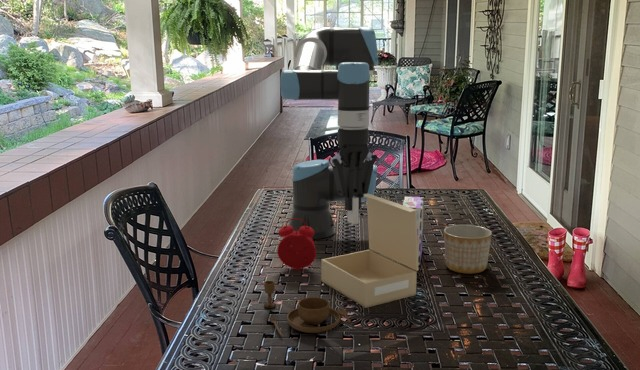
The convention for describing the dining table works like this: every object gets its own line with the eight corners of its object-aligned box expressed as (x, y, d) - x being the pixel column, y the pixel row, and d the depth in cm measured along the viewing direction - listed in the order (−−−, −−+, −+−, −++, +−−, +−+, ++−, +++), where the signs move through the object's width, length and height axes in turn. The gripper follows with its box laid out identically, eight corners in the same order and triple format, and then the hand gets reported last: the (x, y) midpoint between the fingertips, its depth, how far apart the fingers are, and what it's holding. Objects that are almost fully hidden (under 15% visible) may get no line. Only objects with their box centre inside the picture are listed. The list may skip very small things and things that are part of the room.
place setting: (281, 340, 135) (280, 314, 133) (260, 304, 153) (259, 281, 152) (359, 329, 140) (359, 304, 139) (329, 295, 159) (329, 272, 157)
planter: (438, 272, 172) (440, 235, 170) (446, 258, 184) (447, 222, 181) (487, 278, 168) (489, 240, 166) (492, 262, 179) (493, 227, 177)
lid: (361, 194, 168) (368, 193, 169) (364, 250, 172) (371, 248, 173) (409, 211, 151) (416, 209, 152) (411, 272, 155) (418, 270, 156)
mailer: (321, 281, 166) (321, 259, 165) (368, 270, 174) (369, 249, 173) (365, 308, 149) (366, 283, 148) (416, 295, 157) (416, 271, 156)
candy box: (420, 265, 178) (422, 208, 174) (399, 264, 179) (400, 207, 175) (422, 249, 191) (424, 196, 187) (402, 248, 192) (404, 195, 188)
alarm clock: (317, 266, 178) (317, 213, 174) (315, 274, 172) (314, 220, 168) (280, 265, 179) (279, 213, 175) (276, 273, 173) (275, 219, 169)
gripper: (338, 131, 147) (338, 229, 152) (384, 127, 154) (383, 222, 159) (322, 127, 154) (322, 222, 159) (366, 124, 160) (366, 215, 165)
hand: (352, 222), depth 159 cm, fingers closed
